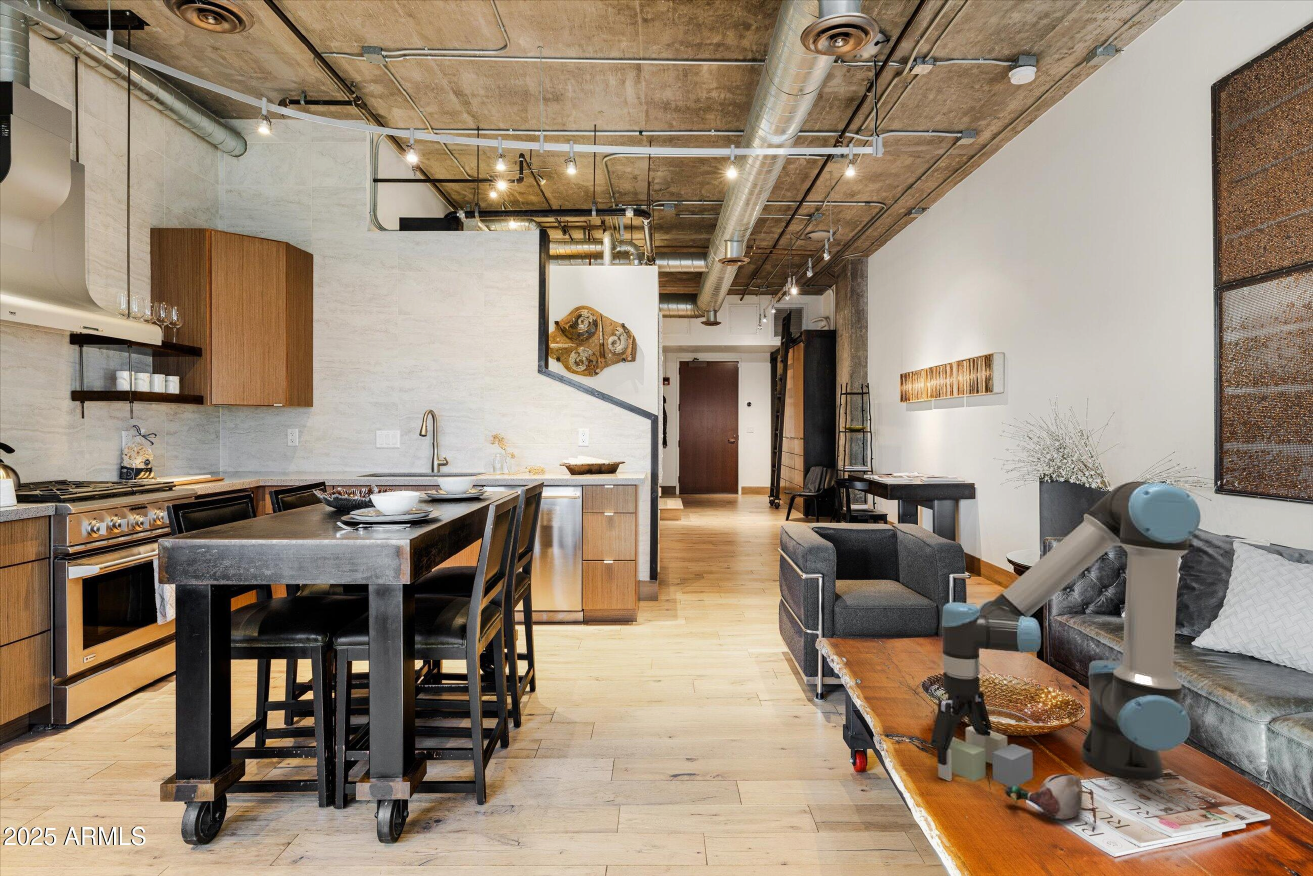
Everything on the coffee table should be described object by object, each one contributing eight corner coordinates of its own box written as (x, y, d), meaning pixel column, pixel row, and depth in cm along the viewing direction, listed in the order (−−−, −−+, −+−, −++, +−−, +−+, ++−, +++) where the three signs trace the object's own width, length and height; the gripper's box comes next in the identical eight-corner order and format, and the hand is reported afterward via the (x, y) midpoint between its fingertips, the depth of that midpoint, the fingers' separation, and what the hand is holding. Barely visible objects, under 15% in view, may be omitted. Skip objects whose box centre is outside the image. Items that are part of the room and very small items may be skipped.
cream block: (1007, 762, 154) (1007, 736, 154) (998, 766, 152) (998, 740, 152) (974, 750, 161) (974, 725, 161) (965, 754, 159) (965, 728, 159)
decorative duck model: (999, 780, 132) (1014, 750, 144) (1004, 819, 132) (1019, 786, 144) (1088, 796, 123) (1096, 763, 135) (1094, 838, 123) (1102, 802, 134)
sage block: (985, 776, 147) (985, 749, 147) (974, 782, 145) (973, 754, 145) (952, 763, 154) (951, 736, 154) (940, 768, 152) (940, 741, 152)
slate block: (1013, 770, 150) (1012, 743, 150) (1033, 778, 146) (1032, 750, 146) (993, 780, 146) (992, 752, 146) (1013, 788, 142) (1012, 760, 142)
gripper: (976, 660, 160) (977, 751, 159) (912, 679, 146) (913, 778, 146) (1007, 668, 154) (1009, 763, 153) (943, 689, 140) (944, 793, 140)
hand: (962, 771), depth 149 cm, fingers open, 12 cm apart
